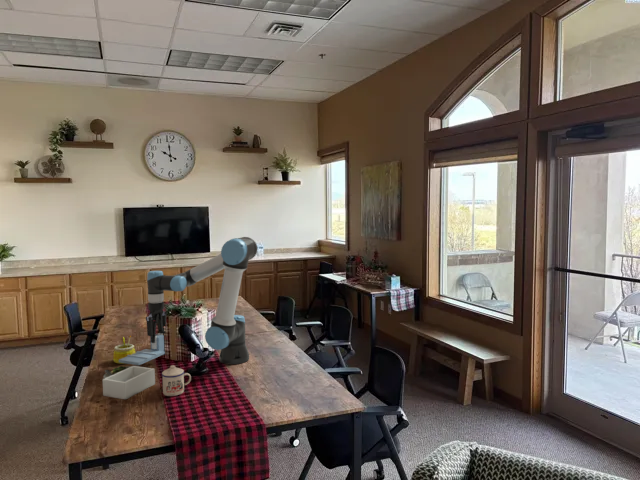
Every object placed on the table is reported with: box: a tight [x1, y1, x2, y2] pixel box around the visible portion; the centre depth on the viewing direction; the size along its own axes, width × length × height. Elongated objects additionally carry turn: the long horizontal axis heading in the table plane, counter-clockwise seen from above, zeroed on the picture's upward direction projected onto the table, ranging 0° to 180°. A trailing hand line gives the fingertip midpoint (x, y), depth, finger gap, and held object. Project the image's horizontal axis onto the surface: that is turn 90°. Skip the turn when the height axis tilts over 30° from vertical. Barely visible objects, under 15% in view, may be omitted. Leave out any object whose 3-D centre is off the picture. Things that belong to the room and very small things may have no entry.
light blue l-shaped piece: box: [119, 333, 166, 366], centre depth 238 cm, size 12×22×9 cm, turn 159°
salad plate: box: [103, 365, 132, 379], centre depth 229 cm, size 19×18×5 cm
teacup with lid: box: [161, 364, 192, 397], centre depth 208 cm, size 12×9×12 cm
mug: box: [112, 335, 136, 365], centre depth 250 cm, size 13×11×12 cm
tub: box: [102, 365, 156, 400], centre depth 212 cm, size 12×18×7 cm, turn 159°
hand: (157, 347), depth 246 cm, fingers closed on light blue l-shaped piece, 4 cm apart
